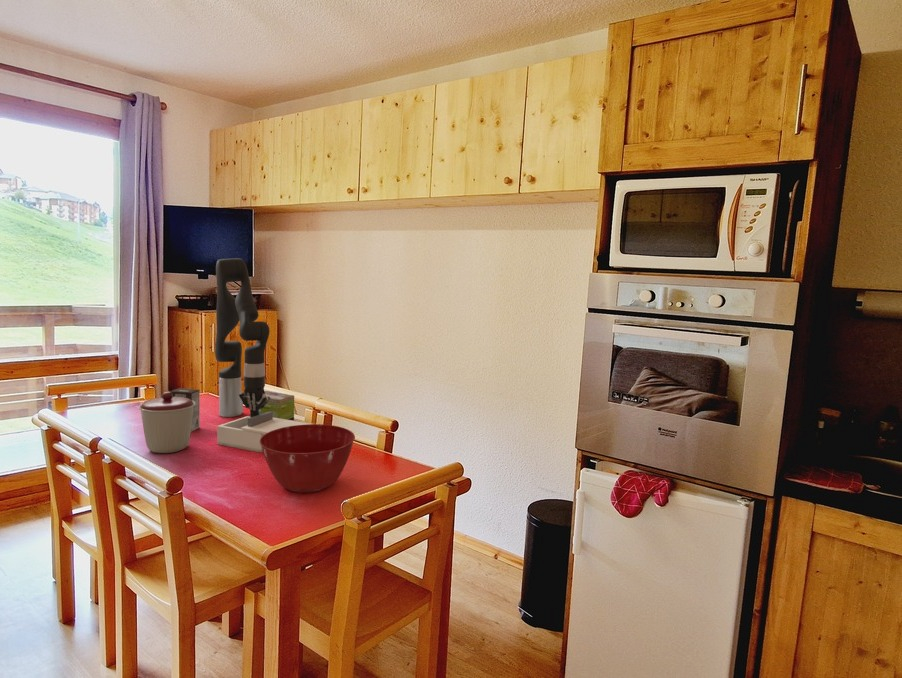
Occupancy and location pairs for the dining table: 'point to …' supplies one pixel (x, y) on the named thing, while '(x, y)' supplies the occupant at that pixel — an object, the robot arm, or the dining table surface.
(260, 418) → the lid
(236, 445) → the box
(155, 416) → the canister
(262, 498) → the dining table surface
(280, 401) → the tea box
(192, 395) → the coffee box
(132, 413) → the dining table surface
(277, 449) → the mixing bowl
